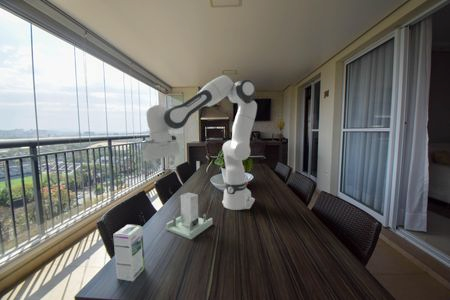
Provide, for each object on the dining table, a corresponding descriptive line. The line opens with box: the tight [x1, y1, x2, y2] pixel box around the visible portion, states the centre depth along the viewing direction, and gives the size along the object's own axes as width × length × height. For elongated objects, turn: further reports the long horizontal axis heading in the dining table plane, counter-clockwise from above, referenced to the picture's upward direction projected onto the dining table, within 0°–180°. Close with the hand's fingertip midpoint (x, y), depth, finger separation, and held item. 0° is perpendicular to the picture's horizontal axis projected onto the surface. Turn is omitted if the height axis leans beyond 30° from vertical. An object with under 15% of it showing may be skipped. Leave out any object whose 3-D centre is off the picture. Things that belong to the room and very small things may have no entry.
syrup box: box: [113, 224, 146, 282], centre depth 57 cm, size 6×6×14 cm
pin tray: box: [165, 213, 214, 240], centre depth 86 cm, size 15×15×5 cm
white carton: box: [180, 192, 199, 228], centre depth 85 cm, size 5×6×14 cm
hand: (165, 166), depth 92 cm, fingers open, 8 cm apart
